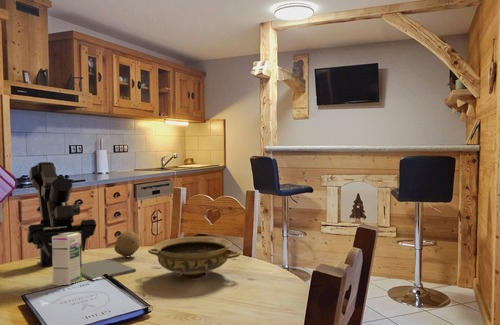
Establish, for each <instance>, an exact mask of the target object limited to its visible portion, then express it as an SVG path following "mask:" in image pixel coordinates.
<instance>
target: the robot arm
mask: <svg viewBox="0 0 500 325" xmlns="http://www.w3.org/2000/svg"><path fill="white" fill-rule="evenodd" d="M56 168H57V167H56V166H55V164H54V162H52V161H41V162H38V163H37V164H35V165H34V166H32V167H30V170H29V174H28V175H29V176H28V177H29V181H31V184H32V187H33V188H35V190H36V191H37V195H38V197H37V198H38V204H39V212H40V222H39V223H37V224H36V223H35V224H30V225H28V227H27V231H26V232H27V233H26V234H27V235H26V240H27V243H28V244H33V245H34V246H35V249H36V250H39V249H40V252H39V253H40V257H39V260H40V261H38V262H37V263H36V265H38V266H40V267H42V268H44V267H49V266H53V264H52V236H56V235H60V234H64V233H71V232H75V233H81V252H83V253H84V252H85V249H86V244H87V239H89V238H91V237H92V236H94V234H95V231H96V227H97V221H96V220H95V219H93V218H90V219H81V222H80V224H78V225H77V224H76V225H73V223H74V220H75V219H74V217H75V216H79V215H80V214H81V207H80V203H73V204H71V205H69V204H68V202H69V201H70V199H71V198H70V197H71V194H72V193H71V192H72V191H73V183H72V182H71V181H70V180H69V179H68V178H65V176H64V175H58V174H57V171H56Z"/></svg>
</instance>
